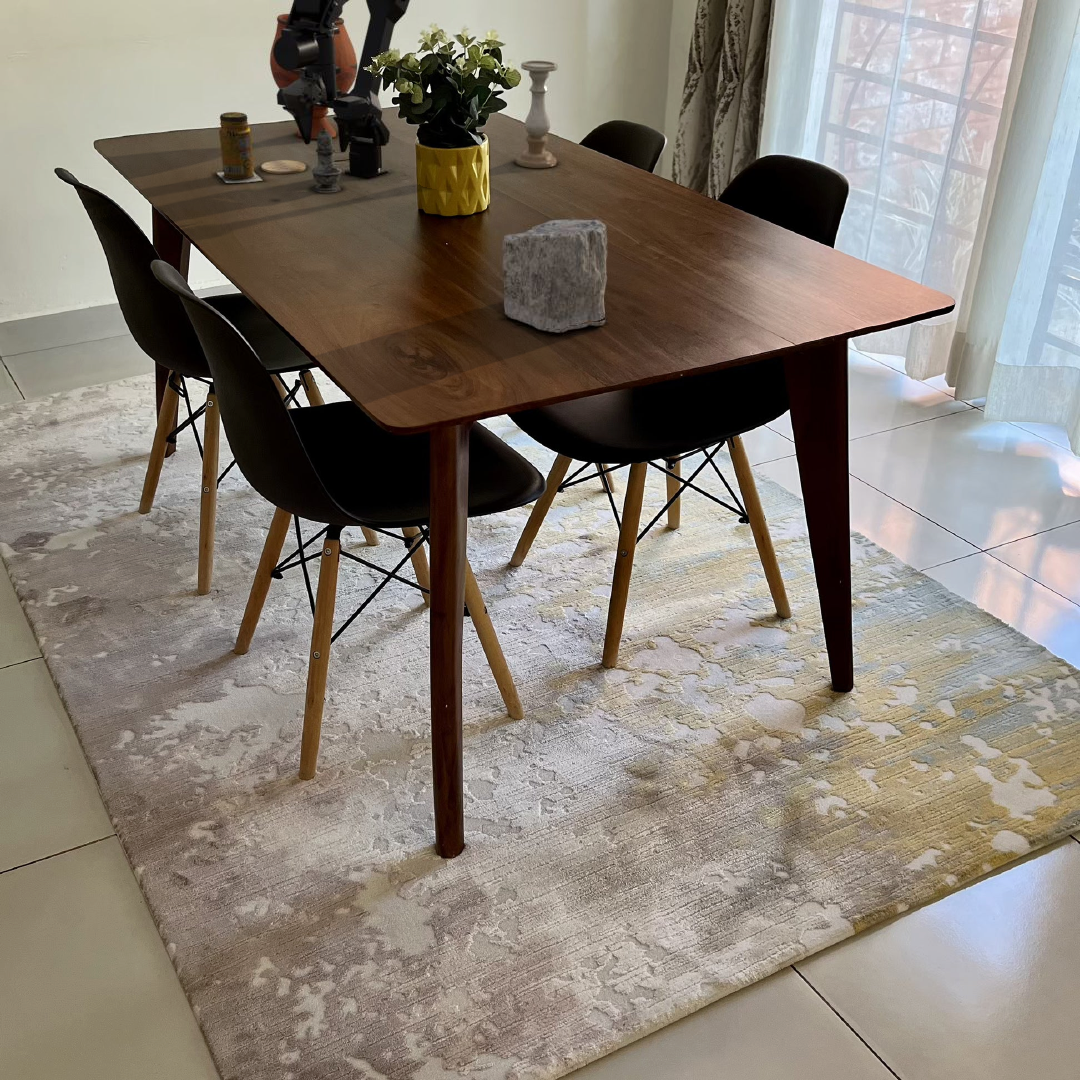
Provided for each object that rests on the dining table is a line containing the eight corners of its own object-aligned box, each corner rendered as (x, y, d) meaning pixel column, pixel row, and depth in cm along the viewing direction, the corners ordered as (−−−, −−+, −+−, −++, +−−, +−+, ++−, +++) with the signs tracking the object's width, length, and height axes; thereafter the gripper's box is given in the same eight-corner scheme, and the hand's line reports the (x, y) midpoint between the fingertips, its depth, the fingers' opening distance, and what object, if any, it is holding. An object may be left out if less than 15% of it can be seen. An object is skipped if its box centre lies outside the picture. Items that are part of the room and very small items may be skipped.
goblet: (353, 146, 263) (348, 25, 250) (266, 143, 263) (256, 21, 250) (365, 127, 279) (361, 12, 266) (283, 124, 279) (275, 8, 266)
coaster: (283, 160, 251) (282, 157, 251) (314, 167, 247) (314, 165, 246) (252, 168, 244) (251, 166, 244) (284, 176, 240) (284, 173, 240)
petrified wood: (539, 283, 191) (543, 189, 183) (636, 305, 184) (644, 209, 176) (476, 318, 177) (476, 218, 169) (577, 343, 170) (583, 240, 162)
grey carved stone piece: (313, 184, 235) (309, 122, 229) (343, 185, 236) (340, 122, 230) (311, 193, 230) (306, 129, 224) (341, 193, 231) (338, 129, 225)
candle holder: (531, 156, 261) (534, 58, 250) (564, 163, 257) (568, 63, 246) (507, 163, 255) (509, 63, 244) (540, 171, 251) (544, 69, 240)
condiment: (252, 170, 243) (246, 109, 237) (262, 181, 236) (257, 118, 230) (216, 173, 240) (209, 112, 234) (226, 184, 234) (219, 121, 227)
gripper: (252, 61, 219) (260, 148, 228) (328, 75, 211) (333, 164, 219) (294, 53, 227) (300, 137, 236) (369, 66, 219) (372, 153, 227)
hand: (325, 148), depth 229 cm, fingers open, 9 cm apart
